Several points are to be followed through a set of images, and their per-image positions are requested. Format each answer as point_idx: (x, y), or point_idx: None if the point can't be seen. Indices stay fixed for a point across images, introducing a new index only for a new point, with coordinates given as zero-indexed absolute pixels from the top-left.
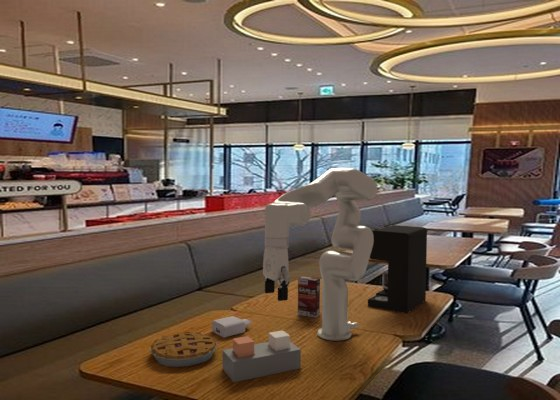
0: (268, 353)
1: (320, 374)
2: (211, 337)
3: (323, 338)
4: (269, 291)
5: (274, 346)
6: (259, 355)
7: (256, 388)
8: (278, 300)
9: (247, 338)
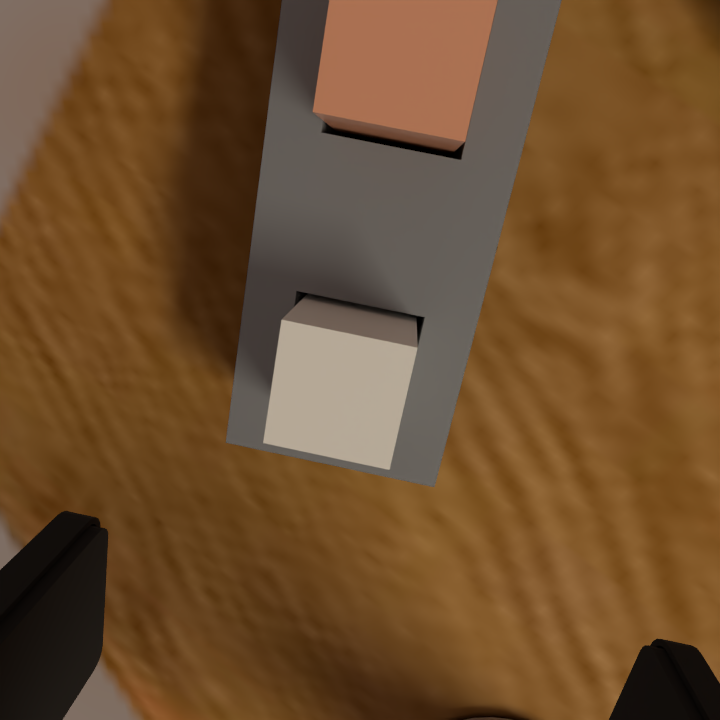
0: (286, 228)
1: (148, 427)
2: None
3: (484, 717)
4: (630, 718)
5: (312, 307)
6: (292, 150)
7: (181, 41)
8: (67, 511)
9: (417, 102)
